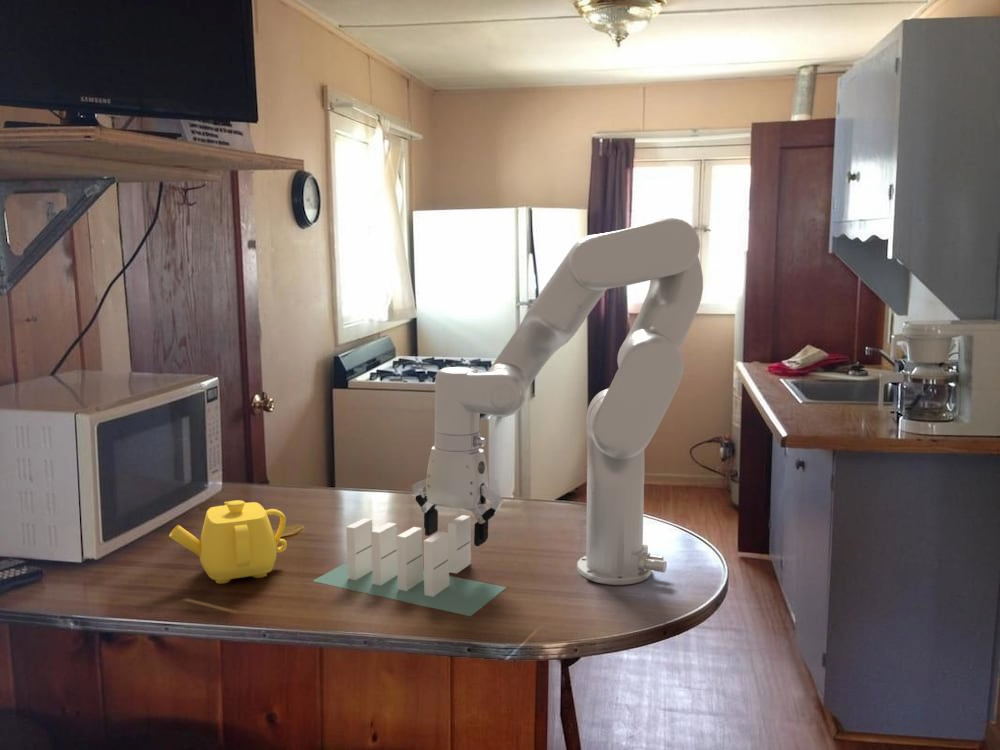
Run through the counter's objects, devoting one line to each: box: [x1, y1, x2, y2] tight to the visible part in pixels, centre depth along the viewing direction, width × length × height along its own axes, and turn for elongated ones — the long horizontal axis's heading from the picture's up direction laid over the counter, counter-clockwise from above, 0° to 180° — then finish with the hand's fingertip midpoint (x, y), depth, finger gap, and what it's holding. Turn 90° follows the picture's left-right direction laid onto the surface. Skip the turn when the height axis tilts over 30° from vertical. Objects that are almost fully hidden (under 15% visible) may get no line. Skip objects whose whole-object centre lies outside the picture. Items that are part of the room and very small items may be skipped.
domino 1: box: [346, 517, 373, 580], centre depth 144 cm, size 2×5×9 cm, turn 153°
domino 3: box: [397, 526, 424, 591], centre depth 139 cm, size 2×5×9 cm, turn 153°
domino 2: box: [371, 521, 398, 586], centre depth 142 cm, size 2×5×9 cm, turn 153°
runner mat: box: [312, 561, 507, 617], centre depth 140 cm, size 30×12×1 cm, turn 63°
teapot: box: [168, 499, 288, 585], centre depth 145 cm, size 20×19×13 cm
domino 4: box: [422, 530, 450, 597], centre depth 137 cm, size 2×5×9 cm, turn 153°
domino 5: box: [447, 514, 472, 574], centre depth 147 cm, size 2×5×9 cm, turn 153°
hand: (455, 538), depth 146 cm, fingers open, 9 cm apart
